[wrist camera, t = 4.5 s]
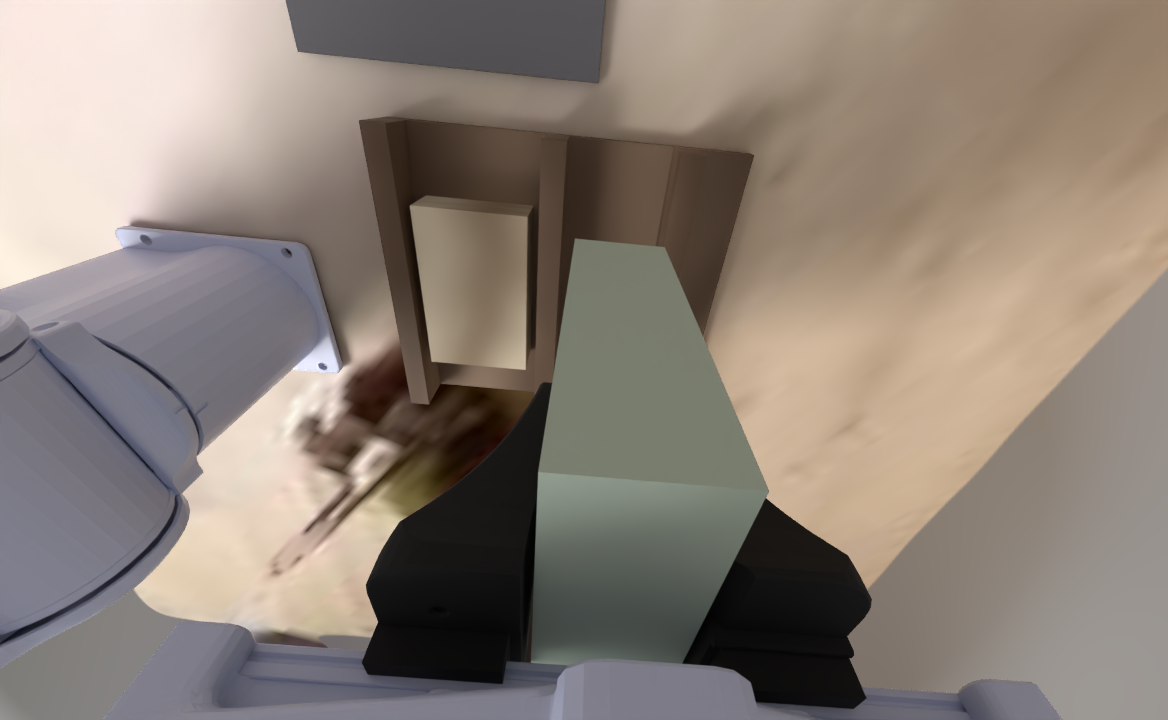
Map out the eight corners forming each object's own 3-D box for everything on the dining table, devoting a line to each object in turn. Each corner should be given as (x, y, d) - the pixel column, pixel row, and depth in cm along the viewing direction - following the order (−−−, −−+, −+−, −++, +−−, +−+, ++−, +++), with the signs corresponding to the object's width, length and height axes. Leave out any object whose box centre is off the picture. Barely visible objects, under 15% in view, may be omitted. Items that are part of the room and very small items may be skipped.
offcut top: (437, 351, 23) (431, 361, 22) (418, 200, 18) (409, 205, 17) (528, 359, 23) (525, 369, 22) (530, 211, 18) (527, 216, 18)
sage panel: (559, 436, 19) (528, 721, 10) (574, 238, 14) (537, 471, 5) (625, 442, 19) (648, 729, 10) (664, 247, 14) (769, 491, 5)
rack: (427, 376, 26) (411, 402, 23) (387, 116, 18) (359, 120, 16) (681, 398, 26) (688, 426, 24) (749, 153, 18) (769, 162, 16)
